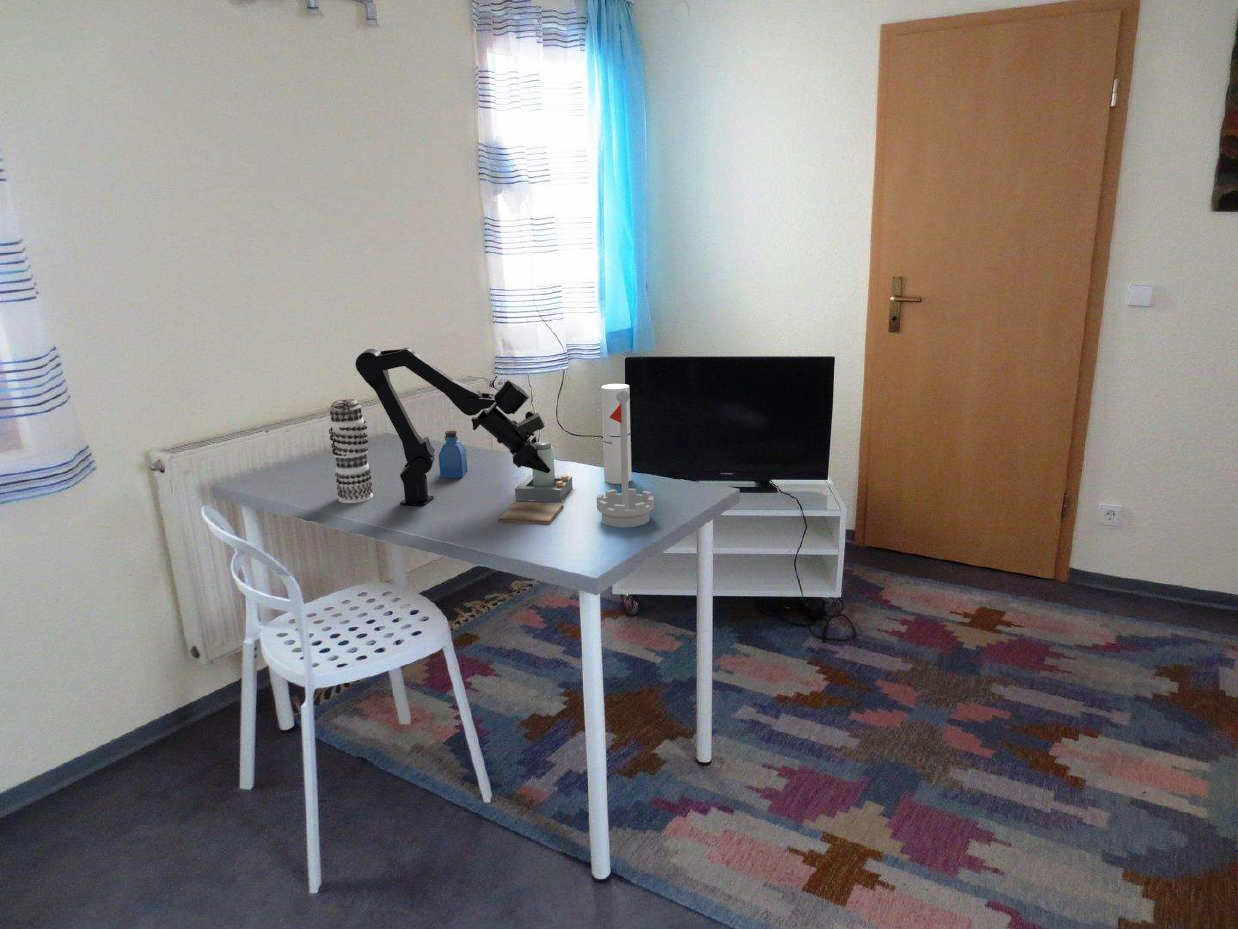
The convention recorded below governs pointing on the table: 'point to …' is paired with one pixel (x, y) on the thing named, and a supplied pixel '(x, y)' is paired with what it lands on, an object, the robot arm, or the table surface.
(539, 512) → the walnut pad
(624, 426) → the flag stand
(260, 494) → the table surface
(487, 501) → the table surface
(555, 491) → the grey square tray
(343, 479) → the decorative candle
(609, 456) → the cylindrical container
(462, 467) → the perfume bottle
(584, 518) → the table surface
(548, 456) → the grey-lidded mint jar
